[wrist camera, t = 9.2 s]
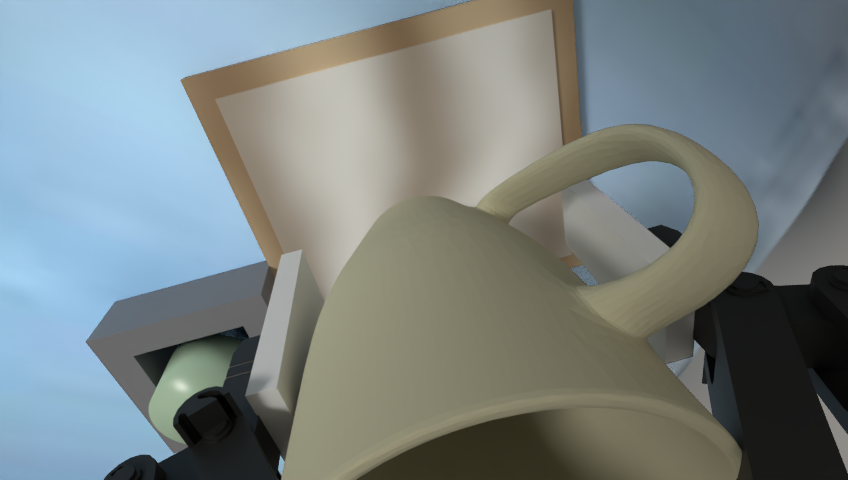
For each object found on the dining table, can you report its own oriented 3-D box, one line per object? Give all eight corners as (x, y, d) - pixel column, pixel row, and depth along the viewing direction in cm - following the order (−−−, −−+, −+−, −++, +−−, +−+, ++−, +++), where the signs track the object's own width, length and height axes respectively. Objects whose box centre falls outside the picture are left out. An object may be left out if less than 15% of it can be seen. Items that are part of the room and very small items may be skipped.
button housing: (190, 408, 27) (173, 453, 25) (114, 301, 23) (85, 341, 21) (323, 372, 27) (320, 412, 25) (270, 259, 24) (260, 294, 21)
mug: (552, 315, 22) (743, 625, 11) (335, 354, 21) (323, 724, 10) (559, 64, 16) (941, 209, 6) (269, 105, 16) (108, 355, 5)
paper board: (305, 333, 26) (304, 343, 25) (185, 77, 19) (178, 80, 18) (584, 257, 26) (590, 264, 25) (565, -25, 19) (573, -25, 19)
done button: (195, 409, 25) (178, 456, 22) (152, 348, 22) (128, 392, 20) (276, 387, 25) (268, 431, 22) (241, 324, 22) (228, 365, 20)
